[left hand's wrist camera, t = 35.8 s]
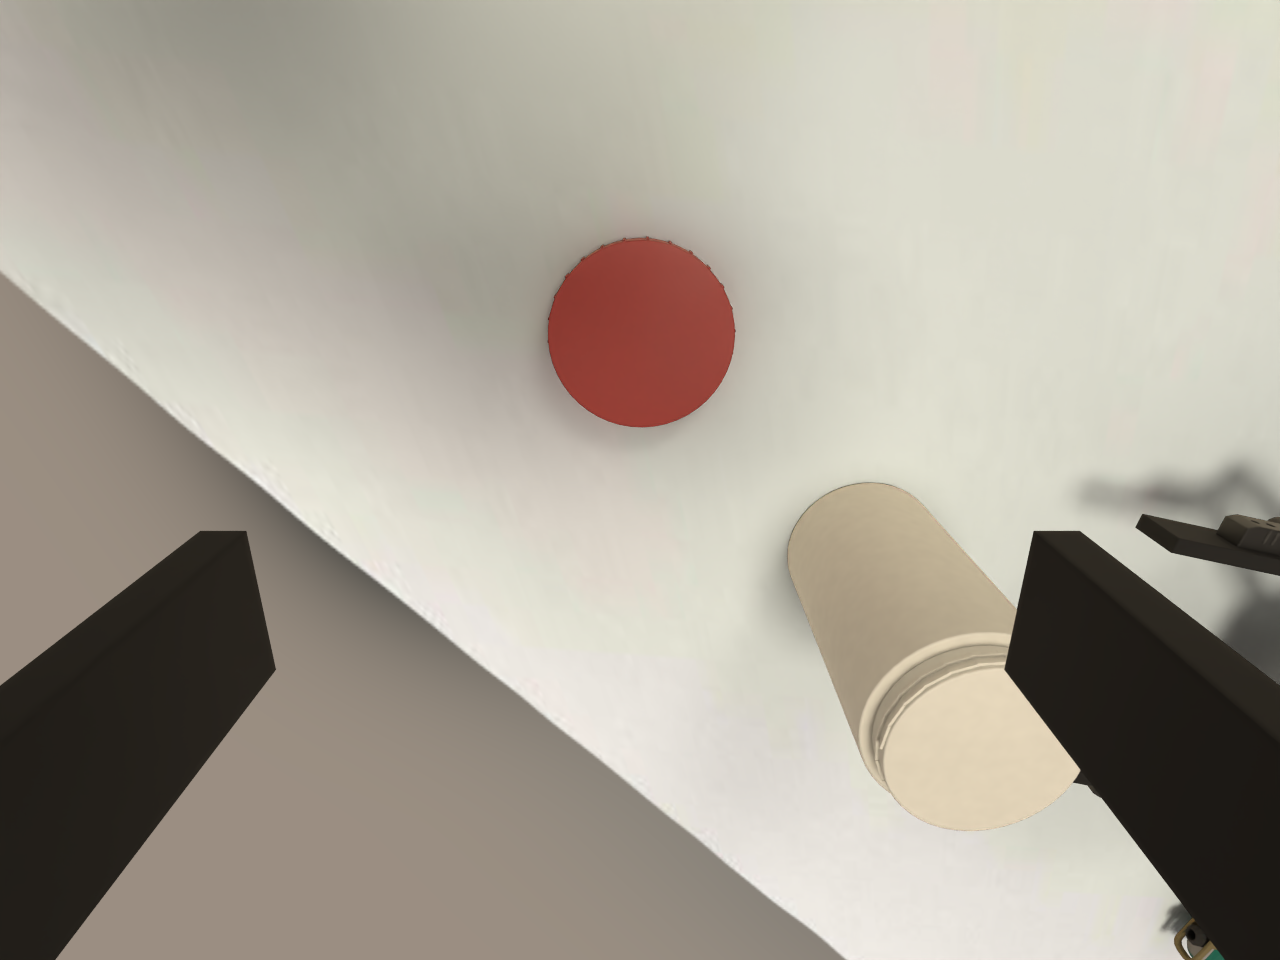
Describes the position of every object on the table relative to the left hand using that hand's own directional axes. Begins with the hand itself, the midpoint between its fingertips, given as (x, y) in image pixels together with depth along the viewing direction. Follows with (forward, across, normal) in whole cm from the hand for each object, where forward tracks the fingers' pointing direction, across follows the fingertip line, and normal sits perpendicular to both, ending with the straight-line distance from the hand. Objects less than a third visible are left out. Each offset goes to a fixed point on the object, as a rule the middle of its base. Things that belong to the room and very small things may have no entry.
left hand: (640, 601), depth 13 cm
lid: (+26, 0, 0) cm, 26 cm away
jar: (+27, +13, -13) cm, 33 cm away
